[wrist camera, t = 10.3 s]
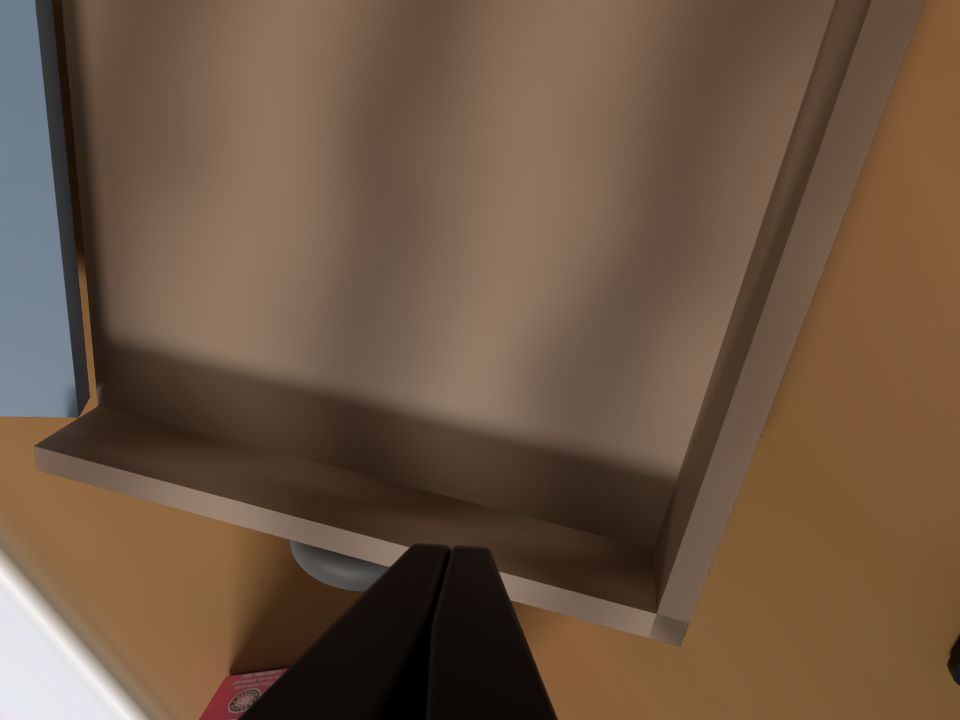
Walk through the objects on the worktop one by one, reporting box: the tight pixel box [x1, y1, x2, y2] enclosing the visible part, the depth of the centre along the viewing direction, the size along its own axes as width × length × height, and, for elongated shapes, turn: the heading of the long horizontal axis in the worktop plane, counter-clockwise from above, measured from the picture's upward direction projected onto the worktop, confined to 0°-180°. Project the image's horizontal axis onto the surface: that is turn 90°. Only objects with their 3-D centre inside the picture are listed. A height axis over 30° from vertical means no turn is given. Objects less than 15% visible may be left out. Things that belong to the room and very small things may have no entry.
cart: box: [34, 0, 926, 646], centre depth 17 cm, size 18×19×4 cm
